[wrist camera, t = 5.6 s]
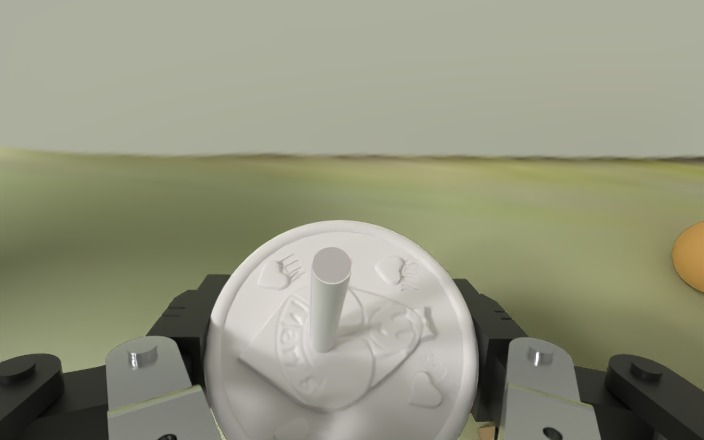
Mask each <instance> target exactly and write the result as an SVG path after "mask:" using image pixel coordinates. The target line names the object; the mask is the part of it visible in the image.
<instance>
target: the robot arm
mask: <svg viewBox="0 0 704 440" xmlns="http://www.w3.org/2000/svg"><path fill="white" fill-rule="evenodd" d="M230 277H231V275H221V274H208V275H207V276H206V278H205V279H204V281H203V282H202V284H201V285H200V287H199V288H198V290H187V291H186V292H184V293H182V294H181V295H179V296H177V297H175V298H174V300H173V301H172V302H171V304H170V305H169V306H168V309H166V310H165V311H164V313H163V314H162V317H160V318H159V319H158V321H157V322H156V323H155V324H154V326H153V327H152V328H151V330H150V331H149V332H148V334H147V335H146V336H145V337H140V338H136V339H133V340H130V341H127V342H125V343H122V344H121V345H119V346H117V347H116V348H114V349H113V350H112V351H111V352H110V353H109V354H108V355H107V358H106V365H103V366H100V367H95V368H90V369H85V370H79V371H74V372H68V373H63V372H62V366H61V361H60V359H59V358H58V357H56V356H54V355H51V354H30V355H24V356H19V357H15V358H12V359H9V360H6V361H3V362H1V363H0V440H222V439H221V436H220V434H219V431H218V429H217V426H216V423H215V421H214V418H213V416H212V413H211V411H210V408H211V405H210V401H209V398H208V394H207V389H206V384H205V376H204V355H205V347H206V339H207V333H208V328H209V323H210V317H211V314H212V310H213V308H214V306H215V303H216V301H217V299H218V297H219V295H220V293H221V291H222V289H223V287H224V286H225V284H226V283H227V281H228V280H229V278H230ZM452 280H453V281H454V283H455V284H456V286H457V287H458V289H459V291H460V292H461V294H462V296H463V298H464V300H465V302H466V305H467V307H468V309H469V312H470V315H471V318H472V321H473V324H474V328H475V333H476V337H477V344H478V352H479V372H478V383H477V389H476V395H475V398H474V402H473V406H472V409H471V413H472V415H473V417H474V419H475V421H476V422H486V421H494V423H495V430H494V436H493V440H704V392H703V391H702V390H700V389H699V388H697V387H696V386H694V385H693V384H691V383H690V382H688V381H687V380H685V379H684V378H682V377H681V376H679V375H678V374H676V373H675V372H673V371H672V370H670V369H668V368H667V367H665V366H663V365H661V364H659V363H657V362H654V361H652V360H649V359H646V358H643V357H639V356H634V355H626V354H620V355H615V356H613V357H611V359H610V361H609V365H608V369H607V372H603V371H598V370H592V369H587V368H582V367H577V366H574V365H573V360H572V358H571V356H570V355H569V354H568V353H567V352H566V351H565V350H564V349H562V348H560V347H559V346H557V345H555V344H553V343H551V342H548V341H545V340H541V339H537V338H531V337H528V335H527V334H526V333H525V332H524V331H523V330H522V329H521V328H520V327H519V326H518V325H517V324H516V323H515V321H514V320H511V317H510V316H509V315H508V314H507V313H505V311H504V310H503V309H502V307H501V306H500V305H499V304H498V303H497V302H495V301H494V300H492V299H490V298H488V297H487V296H485V295H483V294H479V293H478V292H477V291H476V290H475V289H474V287H473V286H472V285H471V284H470V283H469V282H468V281H467V280H466V279H452Z"/></svg>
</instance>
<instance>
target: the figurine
mask: <svg viewBox="0 0 704 440" xmlns="http://www.w3.org/2000/svg"><path fill="white" fill-rule="evenodd" d="M672 260H673V264H674V267H675V269H676V271H677V273H678V274H679V276H680V277H681V278H682V279H683V280H684V281H685V282H686V283H687V284H689V285H690V286H692V287H693V288H695V289H697V290H699V291H701V292H704V221H702V222H699V223H697V224H695V225H693V226H691V227H689V228H688V229H686V230H685V231H684V232H683V233H682V234H681V235H680V236H679V237H678V238H677V240H676V242H675V244H674V246H673V250H672Z"/></svg>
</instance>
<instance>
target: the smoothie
mask: <svg viewBox="0 0 704 440" xmlns="http://www.w3.org/2000/svg"><path fill="white" fill-rule="evenodd" d="M478 372H479V352H478V344H477V337H476V333H475V328H474V324H473V321H472V318H471V315H470V312H469V309H468V307H467V305H466V302H465V300H464V298H463V296H462V294H461V292H460V291H459V289H458V287H457V286H456V284H455V283H454V281H453V280H452V278H451V277H450V276H449V274H448V273H447V272H446V270H445V269H444V268H443V267H442V266H441V265H440V264H439V263H438V262H437V261H436V260H435V259H434V258H433V257H432V256H431V255H430V254H429V253H428V252H426V251H425V250H424V249H423V248H421V247H420V246H419V245H417V244H416V243H414V242H413V241H411V240H410V239H408V238H406V237H404V236H402V235H400V234H398V233H396V232H394V231H392V230H389V229H386V228H384V227H381V226H377V225H374V224H370V223H365V222H359V221H349V220H331V221H321V222H315V223H310V224H306V225H303V226H299V227H296V228H294V229H291V230H288V231H286V232H284V233H282V234H280V235H278V236H276V237H274V238H272V239H271V240H269V241H267V242H266V243H265V244H263V245H262V246H260V247H259V248H258V249H256V250H255V251H254V252H253V253H252V254H250V255H249V256H248V257H247V258H246V259H245V260H244V261H243V262H242V263H241V264H240V265H239V267H238V268H237V269H236V270H235V272H234V273H233V274H232V275H231V277H230V278H229V280H228V281H227V283H226V284H225V286H224V287H223V289H222V291H221V293H220V295H219V297H218V299H217V301H216V303H215V306H214V308H213V310H212V314H211V317H210V323H209V328H208V333H207V339H206V347H205V355H204V376H205V384H206V389H207V394H208V398H209V401H210V405H211V408H212V411H213V413H214V416H215V418H216V420H217V423H218V425H219V427H220V429H221V430H222V432H223V434H224V436H225V438H226V439H227V440H457V439H458V437H459V436H460V434H461V432H462V430H463V428H464V426H465V424H466V422H467V420H468V417H469V414H470V412H471V409H472V406H473V402H474V398H475V395H476V389H477V383H478Z"/></svg>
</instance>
